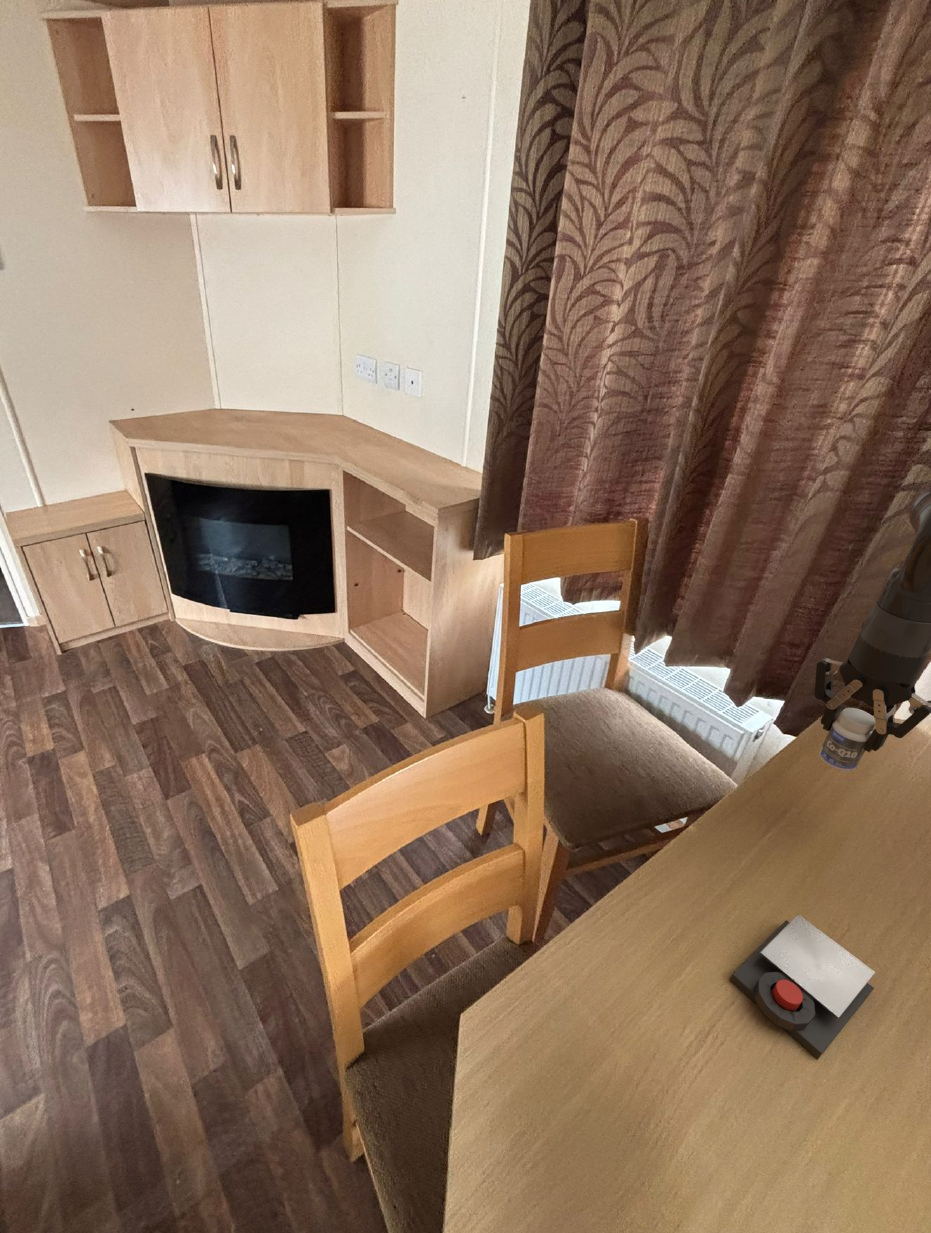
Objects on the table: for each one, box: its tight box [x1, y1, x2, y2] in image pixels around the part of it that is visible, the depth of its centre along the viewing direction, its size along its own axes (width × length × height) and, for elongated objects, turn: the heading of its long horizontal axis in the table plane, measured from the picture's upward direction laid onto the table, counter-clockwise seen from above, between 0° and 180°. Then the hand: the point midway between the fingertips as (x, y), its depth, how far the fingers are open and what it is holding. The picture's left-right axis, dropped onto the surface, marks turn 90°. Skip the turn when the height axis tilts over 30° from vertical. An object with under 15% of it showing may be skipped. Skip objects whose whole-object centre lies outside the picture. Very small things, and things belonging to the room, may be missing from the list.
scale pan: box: [760, 913, 876, 1019], centre depth 71 cm, size 9×9×1 cm
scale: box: [729, 920, 875, 1060], centre depth 70 cm, size 13×10×3 cm
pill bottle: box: [818, 707, 876, 772], centre depth 87 cm, size 5×5×8 cm
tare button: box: [772, 980, 803, 1011], centre depth 68 cm, size 3×3×1 cm
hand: (848, 737), depth 87 cm, fingers closed on pill bottle, 4 cm apart
